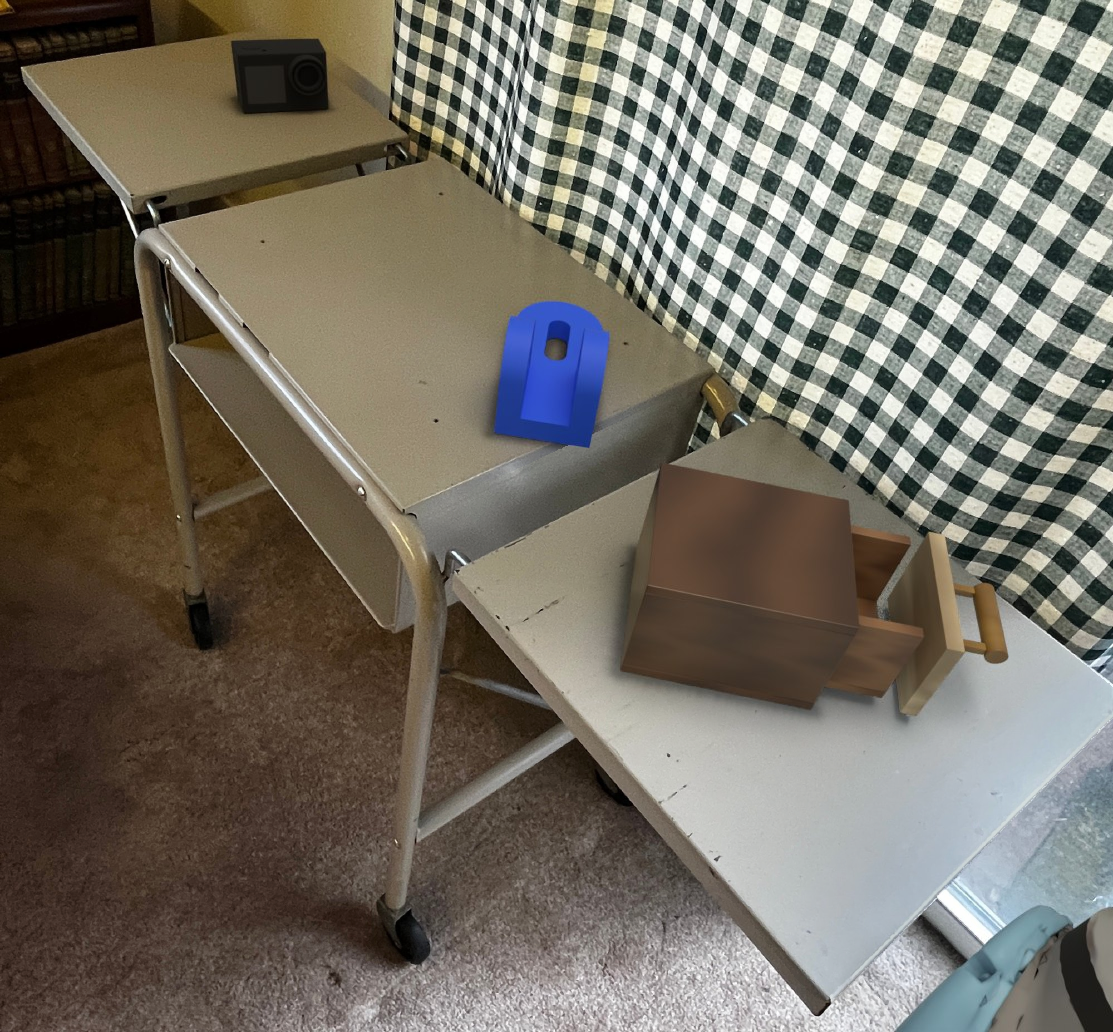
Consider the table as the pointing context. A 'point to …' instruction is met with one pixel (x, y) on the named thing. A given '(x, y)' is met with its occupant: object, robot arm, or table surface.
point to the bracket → (551, 375)
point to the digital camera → (280, 75)
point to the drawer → (912, 621)
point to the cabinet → (741, 587)
